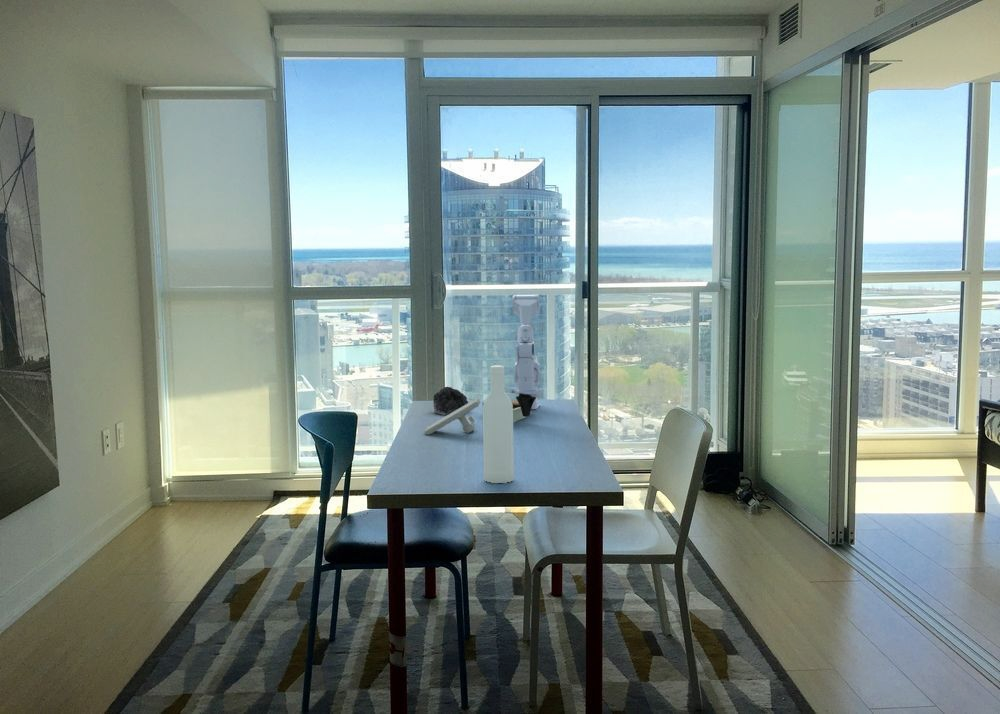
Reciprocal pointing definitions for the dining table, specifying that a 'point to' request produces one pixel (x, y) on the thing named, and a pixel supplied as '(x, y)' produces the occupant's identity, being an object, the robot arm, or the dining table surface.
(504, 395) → the bottle
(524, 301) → the robot arm
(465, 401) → the crystal cluster
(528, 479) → the dining table surface
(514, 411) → the door
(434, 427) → the door handle
